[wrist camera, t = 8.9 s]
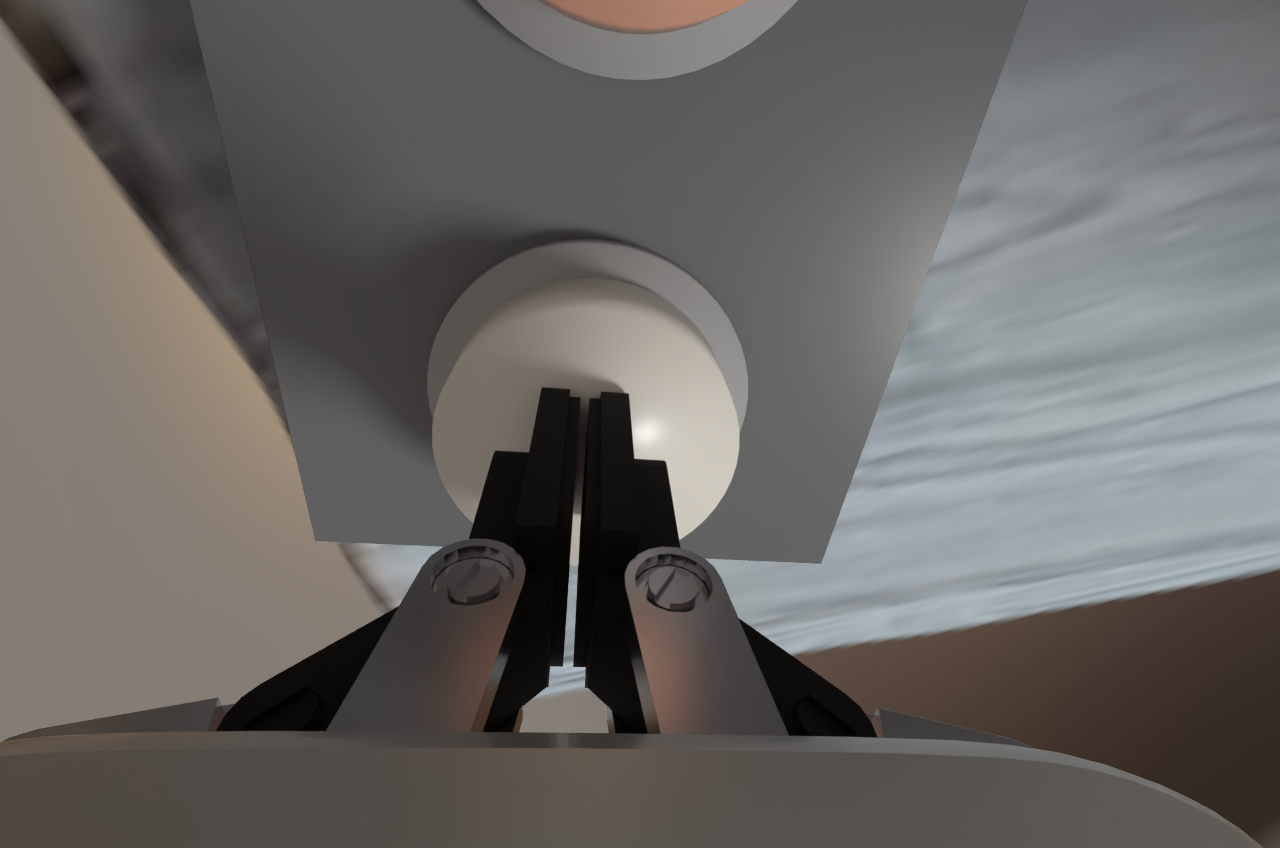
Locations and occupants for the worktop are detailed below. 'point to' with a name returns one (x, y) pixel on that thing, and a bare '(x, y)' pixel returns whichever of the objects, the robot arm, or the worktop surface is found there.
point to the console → (593, 217)
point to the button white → (590, 390)
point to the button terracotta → (642, 13)
